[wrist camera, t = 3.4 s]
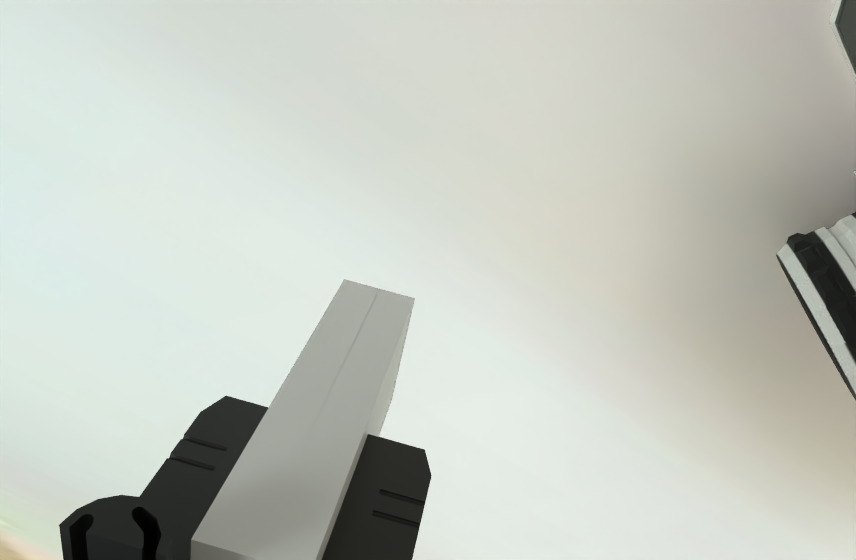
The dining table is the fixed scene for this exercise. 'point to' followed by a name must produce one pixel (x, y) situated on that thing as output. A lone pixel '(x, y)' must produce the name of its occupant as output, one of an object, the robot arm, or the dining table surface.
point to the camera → (830, 251)
